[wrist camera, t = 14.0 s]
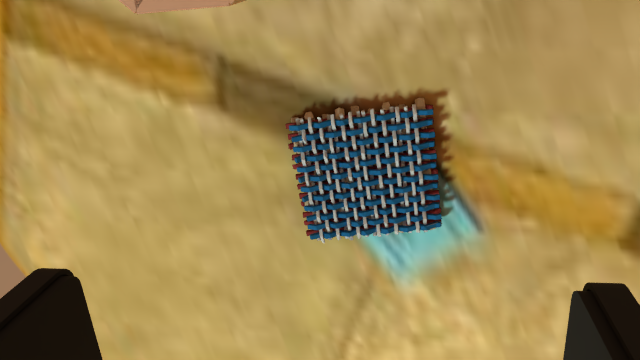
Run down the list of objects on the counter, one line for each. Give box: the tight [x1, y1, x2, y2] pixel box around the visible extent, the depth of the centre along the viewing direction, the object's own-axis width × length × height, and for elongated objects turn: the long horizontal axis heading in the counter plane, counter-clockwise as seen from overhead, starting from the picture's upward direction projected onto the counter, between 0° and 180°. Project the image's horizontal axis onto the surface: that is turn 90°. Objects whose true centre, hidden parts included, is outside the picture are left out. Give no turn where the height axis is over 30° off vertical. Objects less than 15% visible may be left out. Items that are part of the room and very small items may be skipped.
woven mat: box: [286, 98, 442, 243], centre depth 39 cm, size 10×11×2 cm
